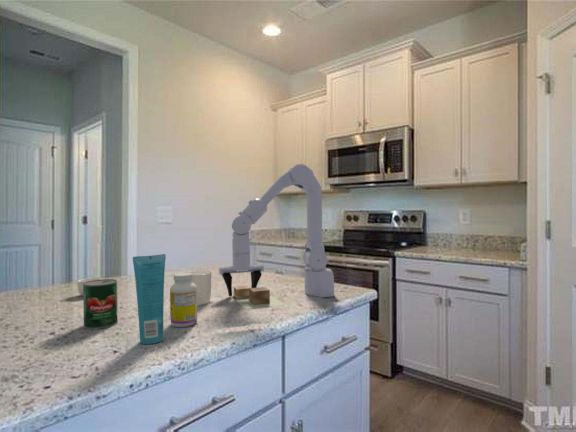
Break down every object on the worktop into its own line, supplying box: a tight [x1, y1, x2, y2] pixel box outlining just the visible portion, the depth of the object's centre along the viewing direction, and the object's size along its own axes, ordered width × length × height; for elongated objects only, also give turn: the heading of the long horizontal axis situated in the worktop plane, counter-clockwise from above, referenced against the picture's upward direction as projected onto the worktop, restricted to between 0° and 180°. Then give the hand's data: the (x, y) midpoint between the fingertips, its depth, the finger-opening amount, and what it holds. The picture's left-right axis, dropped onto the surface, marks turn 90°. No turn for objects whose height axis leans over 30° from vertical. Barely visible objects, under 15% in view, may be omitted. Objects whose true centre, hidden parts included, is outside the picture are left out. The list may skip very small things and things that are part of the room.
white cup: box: [186, 270, 213, 306], centre depth 114 cm, size 8×8×10 cm
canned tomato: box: [82, 278, 119, 330], centre depth 96 cm, size 8×8×11 cm
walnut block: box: [248, 286, 271, 305], centre depth 113 cm, size 5×5×4 cm
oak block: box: [233, 285, 250, 299], centre depth 121 cm, size 4×4×4 cm
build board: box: [235, 295, 285, 310], centre depth 113 cm, size 12×12×1 cm
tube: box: [132, 253, 167, 345], centre depth 83 cm, size 7×5×19 cm, turn 140°
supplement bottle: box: [169, 272, 198, 328], centre depth 95 cm, size 7×7×13 cm
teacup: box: [77, 277, 103, 297], centre depth 131 cm, size 10×8×5 cm
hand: (241, 294), depth 121 cm, fingers open, 7 cm apart
